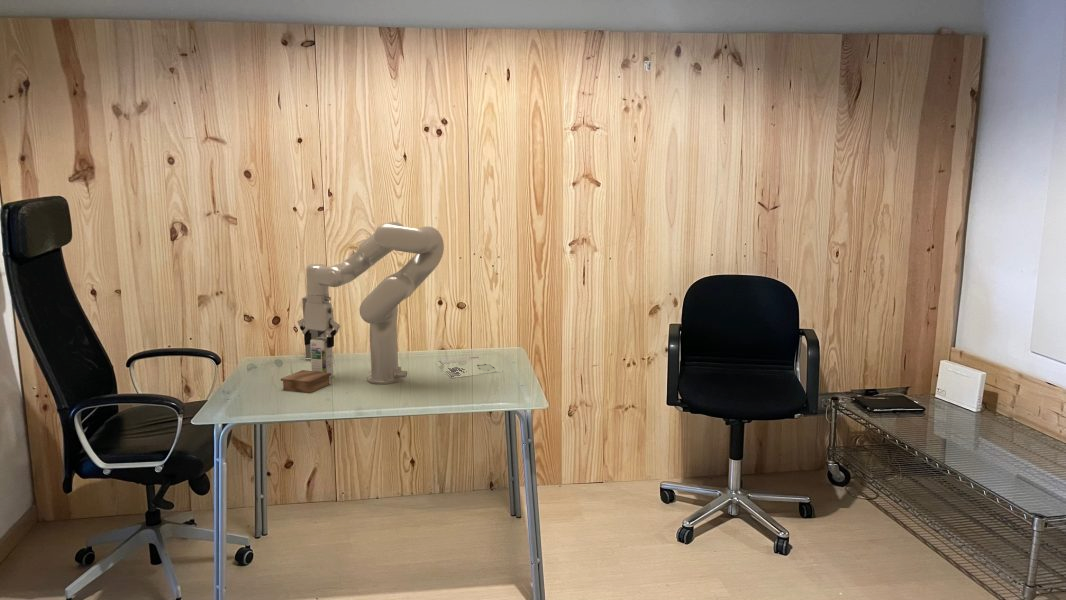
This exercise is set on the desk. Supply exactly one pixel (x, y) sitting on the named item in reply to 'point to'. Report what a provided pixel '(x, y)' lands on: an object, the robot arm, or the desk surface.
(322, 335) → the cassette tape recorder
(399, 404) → the desk surface
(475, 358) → the office telephone
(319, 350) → the syrup box
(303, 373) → the walnut stand
